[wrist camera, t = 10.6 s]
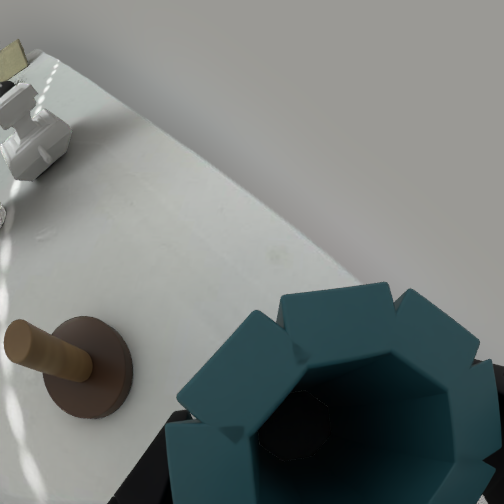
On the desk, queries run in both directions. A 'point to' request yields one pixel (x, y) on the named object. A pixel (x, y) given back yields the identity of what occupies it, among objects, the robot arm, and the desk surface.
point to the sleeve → (342, 406)
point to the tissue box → (12, 60)
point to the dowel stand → (75, 363)
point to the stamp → (30, 134)
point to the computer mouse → (5, 87)
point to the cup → (2, 214)
